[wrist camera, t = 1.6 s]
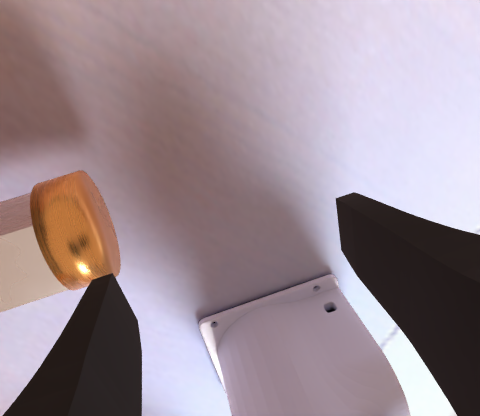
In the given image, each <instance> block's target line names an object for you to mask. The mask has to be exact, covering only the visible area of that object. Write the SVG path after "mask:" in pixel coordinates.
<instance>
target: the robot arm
mask: <svg viewBox="0 0 480 416" xmlns="http://www.w3.org/2000/svg"><path fill="white" fill-rule="evenodd" d="M336 205H337V214H338V223H339V232H340V241H341V250H342V252H343V253H344V255H345V257H346V258H347V260H348V262H349V264H350V265H351V267H352V268H353V270H354V271H355V273H356V275H357V276H358V277H359V279H360V280H361V281H362V282H363V284H364V285H365V286H366V287H367V288H368V290H369V291H370V292H371V293H372V295H373V296H374V297H375V298H376V300H377V301H378V302H379V303H380V304H381V306H382V307H383V308H384V309H385V310H386V312H387V313H388V314H389V315H390V316H391V318H392V319H393V320H394V321H395V323H396V324H397V325H398V326H399V327H400V329H401V330H402V331H403V333H404V334H405V335H406V337H407V338H408V339H409V341H410V342H411V343H412V345H413V346H414V348H415V349H416V351H417V352H418V354H419V356H420V357H421V359H422V360H423V362H424V363H425V365H426V366H427V368H428V369H429V371H430V372H431V374H432V375H433V377H434V379H435V380H436V382H437V383H438V385H439V386H440V388H441V390H442V391H443V393H444V394H445V396H446V398H447V399H448V401H449V402H450V404H451V406H452V407H453V409H454V411H455V412H456V414H457V416H480V235H478V234H474V233H470V232H466V231H462V230H458V229H455V228H451V227H448V226H445V225H441V224H438V223H435V222H432V221H429V220H426V219H423V218H420V217H417V216H414V215H412V214H409V213H406V212H404V211H401V210H398V209H396V208H393V207H391V206H388V205H386V204H383V203H381V202H378V201H376V200H373V199H371V198H368V197H366V196H363V195H360V194H357V193H351V194H348V195H345V196H342V197H339V198H336ZM315 286H317V287H315ZM314 287H315V288H314ZM212 322H215V323H212ZM199 330H200V332H201V335H202V337H203V339H204V342H205V344H206V347H207V349H208V352H209V354H210V356H211V359H212V361H213V364H214V366H215V369H216V371H217V374H218V376H219V378H220V381H221V383H222V386H223V388H224V391H225V393H226V394H227V397H228V401H229V406H230V410H231V414H232V416H410V412H409V408H408V404H407V401H406V398H405V395H404V392H403V390H402V388H401V385H400V383H399V381H398V379H397V377H396V375H395V373H394V371H393V369H392V367H391V365H390V363H389V361H388V360H387V358H386V356H385V355H384V353H383V352H382V350H381V348H380V347H379V346H378V344H377V343H376V341H375V340H374V338H373V337H372V335H371V334H370V333H369V331H368V330H367V328H366V327H365V325H364V324H363V322H362V321H361V319H360V318H359V317H358V315H357V314H356V312H355V311H354V309H353V308H352V306H351V305H350V303H349V302H348V301H347V299H346V298H345V296H344V295H343V293H342V292H341V290H340V289H339V287H338V280H337V278H336V277H335V276H334V275H332V274H329V275H326V276H323V277H320V278H317V279H314V280H311V281H309V282H306V283H303V284H300V285H297V286H294V287H291V288H289V289H286V290H283V291H280V292H277V293H274V294H271V295H269V296H266V297H263V298H260V299H257V300H254V301H251V302H249V303H246V304H243V305H240V306H237V307H234V308H231V309H229V310H226V311H223V312H220V313H217V314H214V315H211V316H209V317H206V318H203V319H201V320H200V321H199ZM3 416H142V350H141V342H140V334H139V327H138V320H137V318H136V316H135V315H134V313H133V311H132V309H131V307H130V305H129V303H128V301H127V299H126V297H125V296H124V294H123V292H122V290H121V288H120V286H119V284H118V282H117V280H116V278H115V277H114V275H113V273H111V274H108V275H105V276H102V277H99V278H96V279H93V280H92V281H91V282H90V284H89V286H88V288H87V289H86V291H85V293H84V295H83V297H82V298H81V300H80V302H79V304H78V306H77V307H76V309H75V311H74V313H73V314H72V316H71V318H70V320H69V321H68V323H67V325H66V327H65V328H64V330H63V332H62V333H61V335H60V337H59V338H58V340H57V341H56V343H55V345H54V346H53V348H52V349H51V351H50V352H49V354H48V355H47V357H46V358H45V360H44V362H43V363H42V365H41V366H40V368H39V369H38V371H37V372H36V373H35V375H34V376H33V378H32V379H31V380H30V382H29V383H28V384H27V386H26V387H25V388H24V390H23V391H22V392H21V393H20V395H19V396H18V397H17V399H16V400H15V401H14V403H13V404H12V405H11V406H10V407H9V409H8V410H7V411H6V412H5V413H4V415H3Z"/></svg>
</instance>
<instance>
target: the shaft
mask: <svg viewBox="0 0 480 416" xmlns="http://www.w3.org/2000/svg"><path fill="white" fill-rule="evenodd" d="M120 265H121V264H120V252H119V246H118V241H117V237H116V233H115V230H114V226H113V223H112V220H111V217H110V215H109V212H108V209H107V207H106V205H105V202H104V200H103V198H102V196H101V194H100V192H99V190H98V188H97V187H96V185H95V183H94V182H93V181H92V179H91V178H90V177H89V176H88V175H87V174H86V173H85V172H84V171H77V172H74V173H70V174H67V175H64V176H60V177H57V178H54V179H51V180H47V181H44V182H41V183H38V184H36V185H35V186H34V187H33V189H32V192H31V193H28V194H25V195H22V196H19V197H15V198H12V199H9V200H6V201H2V202H0V312H3V311H6V310H9V309H12V308H15V307H18V306H21V305H24V304H27V303H30V302H33V301H36V300H39V299H42V298H45V297H48V296H51V295H54V294H57V293H60V292H63V291H66V290H78V289H81V288H84V287H87V286H89V284H90V282H91V281H92V280H93V279H96V278H99V277H102V276H105V275H108V274H111V273H113V275H114V277H116V276H118V275H119V272H120Z"/></svg>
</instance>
